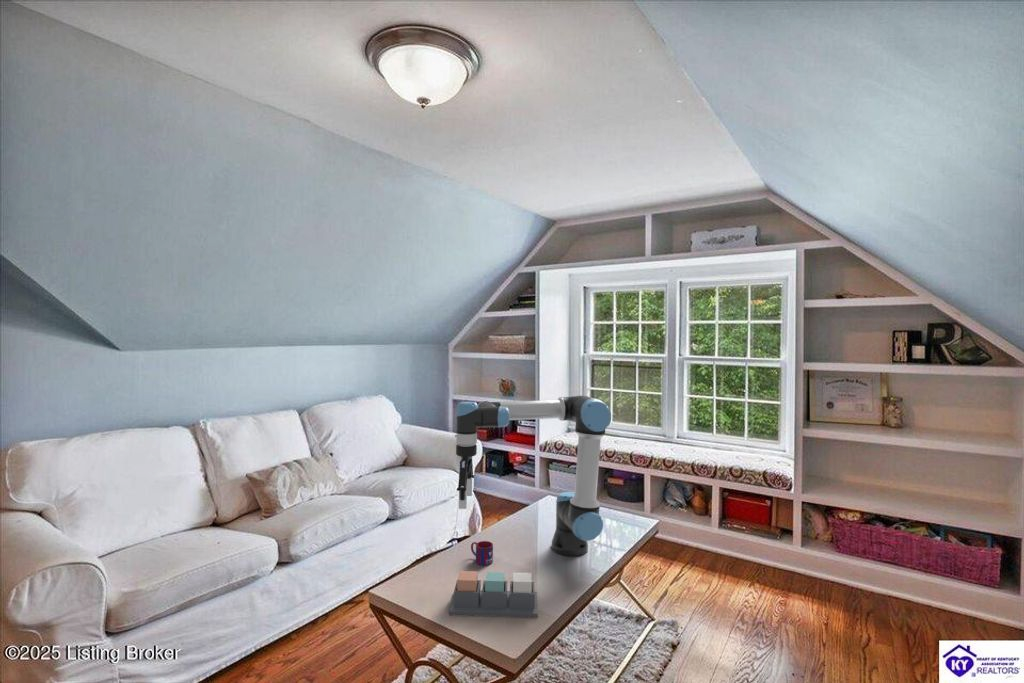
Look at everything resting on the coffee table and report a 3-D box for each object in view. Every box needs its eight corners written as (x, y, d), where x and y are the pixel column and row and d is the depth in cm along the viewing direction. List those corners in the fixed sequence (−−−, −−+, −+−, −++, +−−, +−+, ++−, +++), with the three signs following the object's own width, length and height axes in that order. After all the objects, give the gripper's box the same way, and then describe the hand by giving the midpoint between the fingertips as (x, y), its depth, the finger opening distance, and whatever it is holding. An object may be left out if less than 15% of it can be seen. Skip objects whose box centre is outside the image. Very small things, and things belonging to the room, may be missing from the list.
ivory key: (531, 588, 161) (531, 572, 161) (531, 598, 155) (531, 582, 155) (513, 587, 161) (513, 572, 161) (512, 597, 155) (513, 581, 155)
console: (536, 595, 164) (536, 577, 164) (537, 617, 151) (538, 598, 151) (454, 593, 165) (455, 575, 165) (449, 615, 152) (449, 596, 152)
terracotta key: (477, 586, 161) (477, 571, 161) (475, 596, 155) (476, 580, 155) (459, 586, 161) (459, 571, 161) (457, 596, 155) (457, 580, 155)
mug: (483, 567, 183) (484, 549, 183) (466, 559, 190) (466, 541, 190) (496, 561, 188) (496, 544, 188) (479, 553, 195) (479, 537, 195)
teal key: (504, 587, 161) (504, 572, 161) (503, 597, 155) (503, 581, 155) (486, 587, 161) (486, 571, 161) (485, 596, 155) (485, 580, 155)
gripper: (461, 436, 189) (461, 490, 189) (449, 452, 164) (449, 513, 164) (480, 437, 188) (480, 491, 188) (471, 452, 163) (470, 514, 164)
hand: (465, 501), depth 176 cm, fingers open, 13 cm apart
